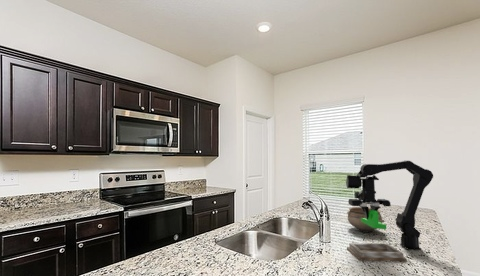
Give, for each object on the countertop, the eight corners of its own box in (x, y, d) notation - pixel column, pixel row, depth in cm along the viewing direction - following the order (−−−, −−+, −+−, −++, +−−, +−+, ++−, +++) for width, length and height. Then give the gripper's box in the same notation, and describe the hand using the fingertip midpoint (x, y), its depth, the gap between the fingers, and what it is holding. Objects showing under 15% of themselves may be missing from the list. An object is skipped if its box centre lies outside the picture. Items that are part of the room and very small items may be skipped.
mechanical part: (386, 229, 120) (387, 212, 120) (373, 228, 120) (374, 211, 120) (372, 222, 132) (373, 207, 132) (361, 221, 132) (362, 206, 132)
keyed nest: (389, 249, 118) (389, 243, 119) (406, 261, 105) (406, 253, 106) (346, 249, 119) (346, 242, 119) (358, 260, 106) (358, 253, 106)
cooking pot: (395, 234, 142) (394, 212, 143) (372, 238, 134) (371, 215, 135) (358, 223, 165) (358, 204, 166) (337, 226, 157) (336, 207, 158)
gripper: (379, 186, 135) (380, 216, 134) (344, 186, 136) (345, 215, 135) (390, 189, 124) (391, 221, 123) (352, 189, 125) (353, 221, 124)
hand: (369, 219), depth 126 cm, fingers closed on mechanical part
